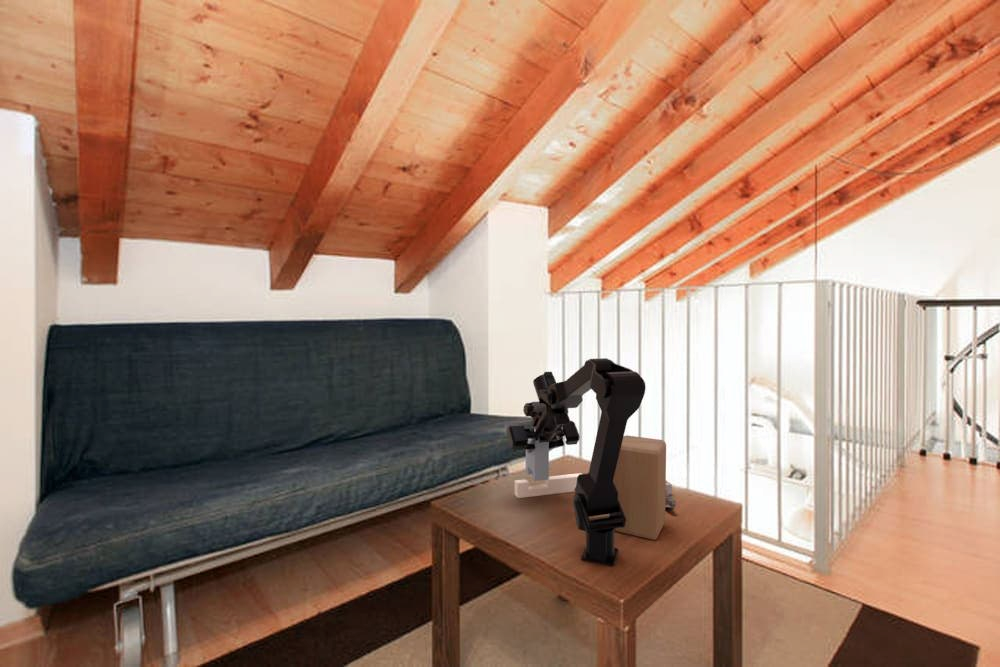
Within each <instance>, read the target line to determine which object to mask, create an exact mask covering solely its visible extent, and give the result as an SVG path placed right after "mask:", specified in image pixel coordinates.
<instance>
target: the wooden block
mask: <svg viewBox="0 0 1000 667" xmlns="http://www.w3.org/2000/svg"><path fill="white" fill-rule="evenodd" d="M666 471H667V443H666V441H664V440H663V439H658V438H650V437H644V436H643V437H642V436H635V435H624V437H623V441H622V445H621V449H620V454H619V458H618V462H617V466H616V471H615V475H614V479H613V482H614V485H615V487H616V489H617V491H618V500H619V503H620V505H621V508H622V510H623V513H624V515H625V518H626V523H625V527H624V528H615V532H619V533H623V534H629V535H631V536H632V535H633V536H637V537H640V538H644V539H649V540H657V539H658V537H659V535H660V533H661V532H662V529H663V527H664V525H665V523H666V507H665V495H666V480H667V479H666V478H667V474H666V473H667V472H666Z"/></svg>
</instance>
